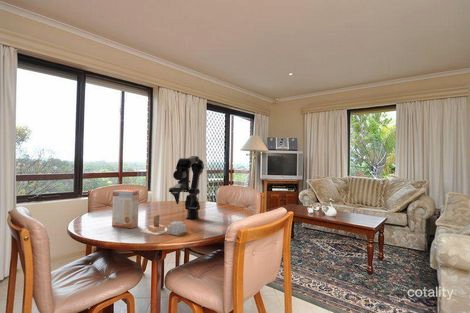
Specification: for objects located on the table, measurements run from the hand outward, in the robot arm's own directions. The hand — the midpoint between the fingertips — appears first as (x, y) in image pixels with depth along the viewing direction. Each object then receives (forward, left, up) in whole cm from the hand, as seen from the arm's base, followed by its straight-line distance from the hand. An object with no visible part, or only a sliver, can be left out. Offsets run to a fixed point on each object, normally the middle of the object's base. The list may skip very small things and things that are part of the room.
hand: (183, 204), depth 151 cm
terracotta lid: (-6, -17, -12) cm, 21 cm away
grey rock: (+6, -15, -12) cm, 20 cm away
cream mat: (-6, -17, -12) cm, 22 cm away
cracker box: (-28, -18, -12) cm, 35 cm away
